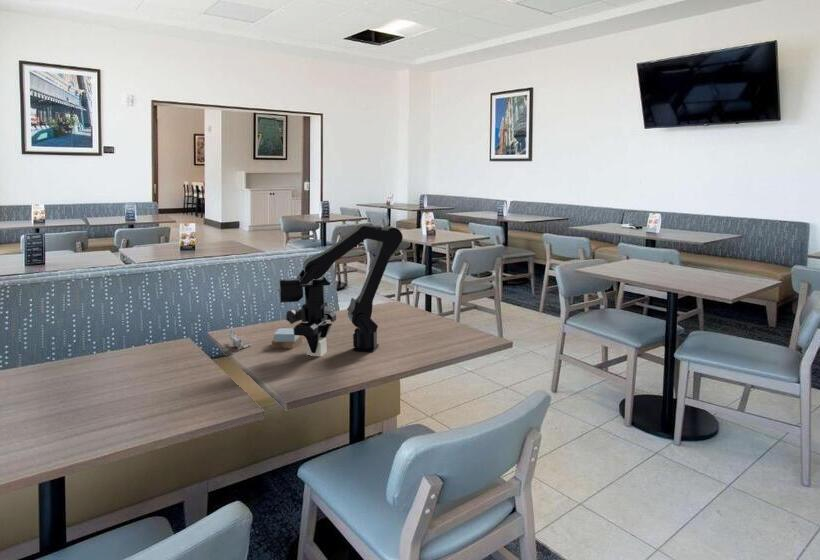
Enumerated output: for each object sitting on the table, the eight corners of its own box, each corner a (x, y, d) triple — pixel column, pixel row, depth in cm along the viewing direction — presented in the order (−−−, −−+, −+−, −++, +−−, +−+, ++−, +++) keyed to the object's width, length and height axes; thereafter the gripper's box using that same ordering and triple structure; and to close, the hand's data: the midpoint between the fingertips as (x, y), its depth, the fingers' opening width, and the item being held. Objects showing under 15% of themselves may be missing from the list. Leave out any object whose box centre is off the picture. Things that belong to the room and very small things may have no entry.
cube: (326, 351, 178) (326, 337, 177) (320, 356, 174) (320, 342, 173) (313, 350, 179) (312, 336, 178) (307, 355, 175) (306, 341, 174)
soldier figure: (249, 343, 191) (256, 341, 180) (239, 355, 189) (246, 354, 178) (230, 328, 189) (236, 325, 178) (220, 340, 187) (225, 338, 176)
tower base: (301, 344, 188) (301, 336, 187) (292, 350, 181) (292, 343, 181) (282, 342, 190) (281, 335, 189) (272, 349, 183) (271, 341, 182)
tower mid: (299, 335, 188) (299, 328, 188) (294, 342, 182) (294, 334, 181) (279, 335, 188) (279, 328, 188) (274, 341, 182) (273, 334, 182)
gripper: (303, 292, 184) (305, 339, 187) (275, 306, 166) (278, 358, 169) (336, 294, 181) (337, 342, 184) (311, 308, 163) (313, 361, 167)
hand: (316, 350), depth 176 cm, fingers closed on cube, 4 cm apart
